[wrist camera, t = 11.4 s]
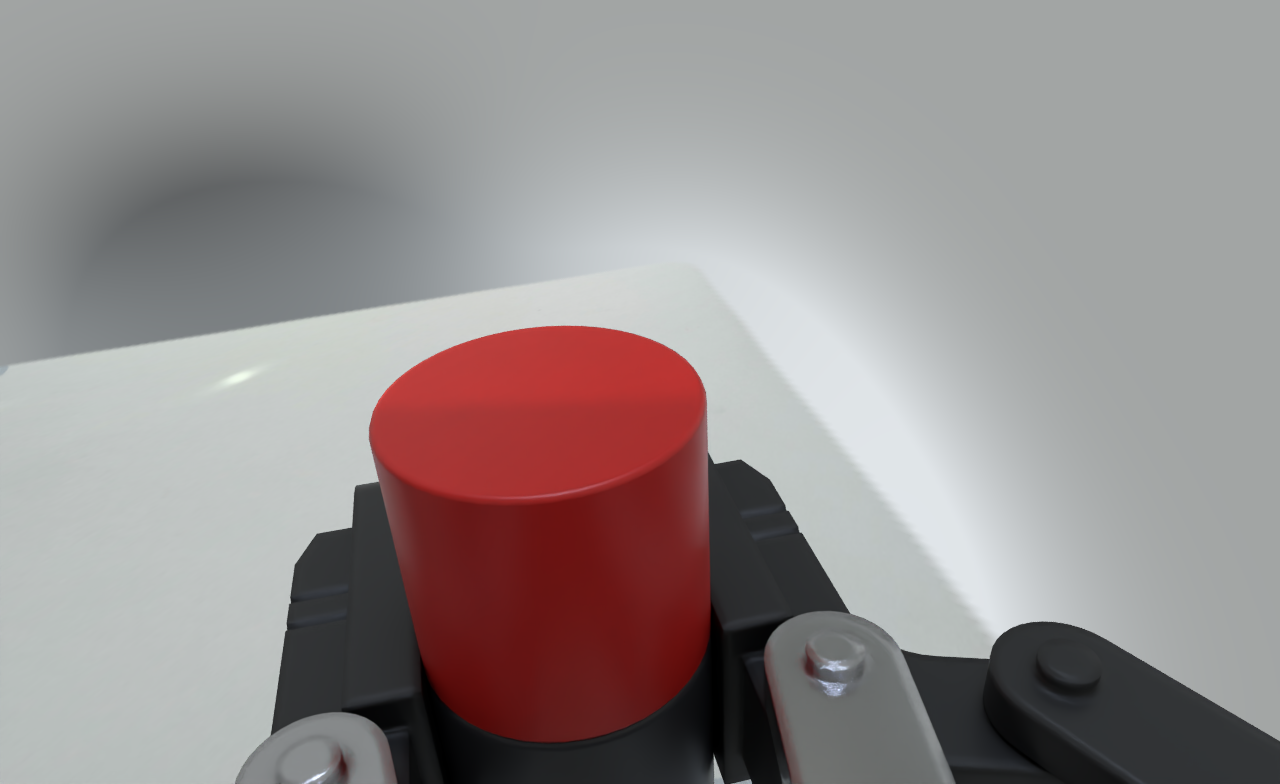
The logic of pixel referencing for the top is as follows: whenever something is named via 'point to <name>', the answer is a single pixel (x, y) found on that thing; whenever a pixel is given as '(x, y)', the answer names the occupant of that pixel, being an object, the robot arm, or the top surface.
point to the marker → (556, 554)
